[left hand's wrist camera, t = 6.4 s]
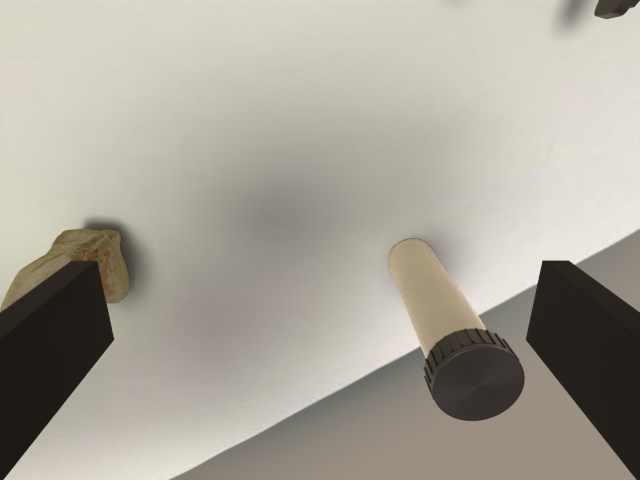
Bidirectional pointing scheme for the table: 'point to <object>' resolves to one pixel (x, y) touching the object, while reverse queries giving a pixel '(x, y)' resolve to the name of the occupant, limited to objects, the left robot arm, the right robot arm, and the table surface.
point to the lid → (473, 374)
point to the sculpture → (77, 248)
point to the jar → (429, 294)
